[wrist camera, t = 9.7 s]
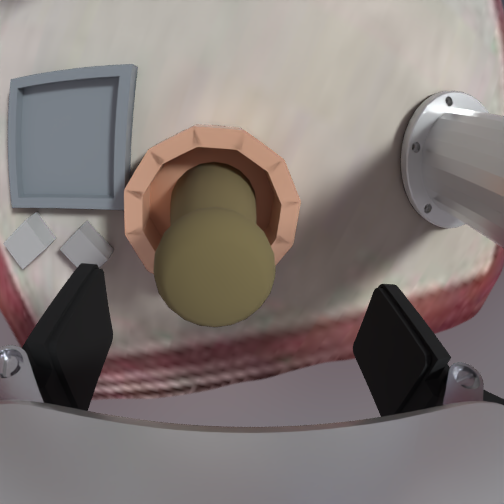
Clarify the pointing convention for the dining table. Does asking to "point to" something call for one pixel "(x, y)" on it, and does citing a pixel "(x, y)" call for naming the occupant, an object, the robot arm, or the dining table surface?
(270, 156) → the bowl
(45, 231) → the light grey block
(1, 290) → the dining table surface
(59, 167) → the tray
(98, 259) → the grey block
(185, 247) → the olive pestle
